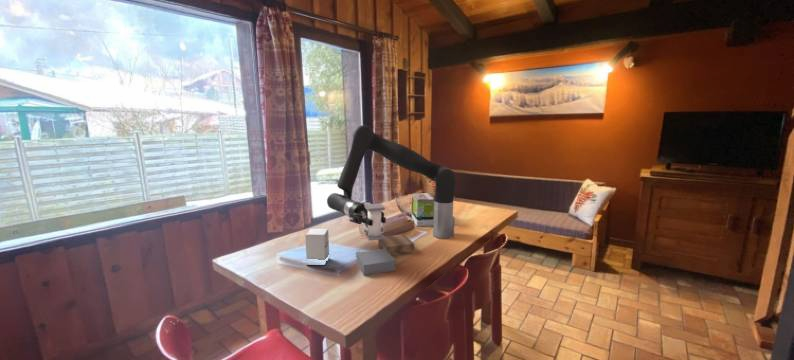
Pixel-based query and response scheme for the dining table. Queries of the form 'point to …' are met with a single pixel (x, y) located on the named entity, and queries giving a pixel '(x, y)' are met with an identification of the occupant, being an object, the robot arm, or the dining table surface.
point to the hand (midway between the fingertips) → (378, 221)
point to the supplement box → (317, 244)
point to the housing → (374, 221)
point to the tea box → (422, 209)
